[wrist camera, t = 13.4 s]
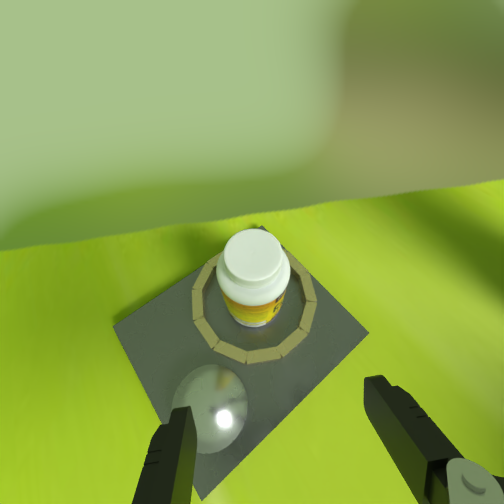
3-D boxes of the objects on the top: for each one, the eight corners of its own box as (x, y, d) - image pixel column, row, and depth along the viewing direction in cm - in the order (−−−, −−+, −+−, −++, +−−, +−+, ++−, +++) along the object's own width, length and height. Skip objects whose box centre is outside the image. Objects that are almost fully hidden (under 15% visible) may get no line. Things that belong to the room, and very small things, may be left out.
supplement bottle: (277, 333, 24) (290, 300, 15) (221, 323, 24) (200, 285, 15) (284, 279, 26) (298, 224, 17) (233, 271, 27) (221, 213, 18)
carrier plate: (261, 230, 31) (262, 217, 28) (365, 334, 24) (376, 329, 22) (117, 328, 25) (104, 323, 23) (204, 496, 19) (197, 510, 17)
